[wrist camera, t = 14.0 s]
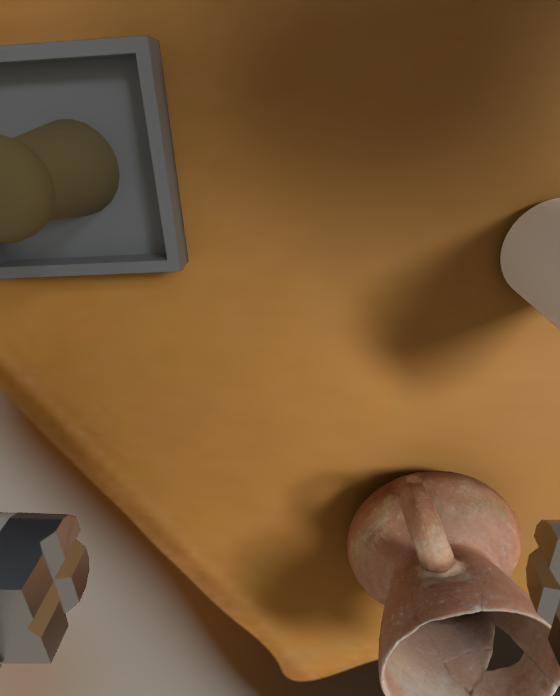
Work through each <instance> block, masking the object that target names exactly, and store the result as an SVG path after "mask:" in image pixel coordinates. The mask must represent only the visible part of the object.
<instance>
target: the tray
mask: <svg viewBox="0 0 560 696" xmlns="http://www.w3.org/2000/svg"><path fill="white" fill-rule="evenodd" d="M58 119H73V120H76V121H80V122H83V123H86V124H88V125H89V126H91V127H92V128H94V129H95V130H97V131H98V132H100V133H101V135H102V136H103V137H104V138H105V139H106V141H107V142H108V143H109V144H110V145H111V147H112V150H113V152H114V154H115V156H116V158H117V161H118V167H119V173H120V178H119V185H118V190H117V192H116V194H115V196H114V198H113V200H112V202H111V203H109V204H108V205H107V206H106V207H105V208H104V209H103V210H101V211H99V212H96V213H94V214H91V215H86V216H80V217H73V218H66V219H60V220H53V221H48V222H47V224H46V225H45V226H44V227H43V228H42V229H41V230H40V231H39V232H38V233H36V234H35V235H34V236H32V237H30V238H27V239H24V240H22V241H19V242H17V243H0V279H10V278H34V277H58V276H82V275H106V274H130V273H154V272H178V271H182V269H183V268H184V266H185V265H186V264H187V262H188V254H187V247H186V240H185V232H184V225H183V217H182V210H181V203H180V195H179V188H178V180H177V173H176V166H175V158H174V151H173V143H172V136H171V129H170V121H169V114H168V106H167V99H166V92H165V84H164V77H163V69H162V62H161V55H160V47H159V41H158V40H156V39H154V38H152V37H150V36H147V35H146V36H132V37H117V38H103V39H89V40H74V41H60V42H46V43H31V44H17V45H3V46H0V134H1V135H4V136H7V137H11V138H13V137H16V136H18V135H21V134H23V133H26V132H28V131H30V130H33V129H35V128H38V127H40V126H42V125H45V124H47V123H50V122H52V121H55V120H58Z"/></svg>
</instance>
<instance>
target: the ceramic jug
mask: <svg viewBox="0 0 560 696" xmlns="http://www.w3.org/2000/svg"><path fill="white" fill-rule="evenodd" d="M521 542H522V541H521V531H520V527H519V523H518V520H517V518H516V516H515V514H514V512H513V510H512V509H511V507H510V506H509V505H508V503H507V502H506V501H505V500H504V499H503V498H502V497H501V496H500V495H499V494H498V493H497V492H496V491H495V490H493V489H492V488H491V487H489V486H488V485H486V484H484V483H483V482H481V481H479V480H477V479H474V478H472V477H469V476H466V475H462V474H458V473H453V472H444V471H427V472H417V473H413V474H409V475H405V476H401V477H399V478H396V479H394V480H392V481H391V482H388V483H387V484H385V485H383V486H382V487H380V488H379V489H377V490H376V491H375V492H373V493H372V494H371V495H370V496H369V497H368V498H367V499H366V500H365V501H364V502H363V503H362V504H361V506H360V507H359V508H358V510H357V512H356V513H355V515H354V517H353V519H352V522H351V525H350V528H349V532H348V539H347V554H348V559H349V563H350V566H351V569H352V571H353V573H354V575H355V577H356V579H357V580H358V582H359V583H360V584H361V586H362V587H363V588H364V589H365V590H366V591H367V592H368V593H369V594H370V595H371V596H372V597H373V598H375V599H376V600H377V601H379V602H380V603H382V604H384V605H385V607H384V612H383V617H382V623H381V630H380V638H379V678H380V684H381V688H382V690H383V693H384V694H385V696H552V695H553V694H554V693H555V691H556V689H557V688H558V686H559V685H560V666H559V664H558V662H557V659H556V657H555V655H554V652H553V650H552V648H551V646H550V643H549V641H548V636H549V633H550V630H551V625H550V624H549V623H547V622H546V621H545V620H544V619H543V618H542V617H540V616H539V615H538V614H537V613H536V611H535V608H534V606H533V603H532V601H531V598H530V596H529V595H528V594H527V593H526V592H525V591H524V590H523V589H522V588H520V587H519V586H518V585H517V584H516V583H515V582H514V581H513V580H512V579H511V576H512V574H513V573H514V571H515V569H516V566H517V564H518V561H519V558H520V553H521V544H522V543H521ZM495 625H497V626H498V627H500V628H501V629H503V630H504V631H505V632H507V633H508V634H509V635H510V636H511V637H512V639H513V640H514V641H515V642H516V643H517V644H518V645H519V646H520V647H521V648H522V649H523V651H524V654H523V656H522V657H521V659H520V661H519V662H517V663H516V664H513V665H512V666H510V667H505V668H499V669H496V670H494V671H487V667H488V663H489V660H490V658H491V656H492V652H493V638H494V634H495V631H494V627H495Z"/></svg>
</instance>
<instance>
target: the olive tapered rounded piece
mask: <svg viewBox="0 0 560 696" xmlns="http://www.w3.org/2000/svg"><path fill="white" fill-rule="evenodd" d="M119 178H120V173H119V167H118V161H117V158H116V156H115V154H114V152H113V150H112V147H111V145H110V144H109V143H108V142H107V141H106V139H105V138H104V137H103V136H102V135H101V133H100V132H98V131H97V130H95V129H94V128H92V127H91V126H89V125H88V124H86V123H83V122H80V121H76V120H73V119H58V120H55V121H52V122H50V123H47V124H45V125H42V126H40V127H38V128H35V129H33V130H30V131H28V132H26V133H23V134H21V135H18V136H16V137H13V138H11V137H7V136H4V135H1V134H0V243H17V242H19V241H22V240H24V239H27V238H30V237H32V236H34V235H35V234H36V233H38V232H39V231H40V230H41V229H42V228H43V227H44V226H45V225H46V224H47V222H48V221H53V220H60V219H66V218H73V217H80V216H86V215H91V214H94V213H96V212H99V211H101V210H103V209H104V208H105V207H106V206H107V205H108V204H109V203H111V202H112V200H113V198H114V196H115V194H116V192H117V190H118V185H119Z"/></svg>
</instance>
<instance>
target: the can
mask: <svg viewBox="0 0 560 696" xmlns="http://www.w3.org/2000/svg"><path fill="white" fill-rule="evenodd" d="M500 263H501V270H502V273H503V276H504V278H505V280H506V282H507V283H508V284H509V286H510V287H511V288H512V289H513V290H514V291H515V292H517V293H518V294H519V295H520V296H521V297H522V298H524V299H525V300H526V301H527V302H528V303H529V304H531V305H532V306H533V307H534V308H535V309H536V310H537V311H539V312H540V313H541V314H542V315H543V316H544V317H546V318H547V319H548V320H549V321H550V322H551V323H552V324H554V325H555V326H556V327H557V328H558V329H559V330H560V198H555V199H551V200H548V201H545V202H542V203H540V204H538V205H536V206H534V207H532V208H531V209H529V210H528V211H527V212H525V213H524V214H523V215H522V216H521V217H520V218H519V219H518V220H517V221H516V222H515V223H514V224H513V226H512V227H511V229H510V230H509V232H508V233H507V235H506V237H505V240H504V242H503V245H502V249H501V256H500Z"/></svg>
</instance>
